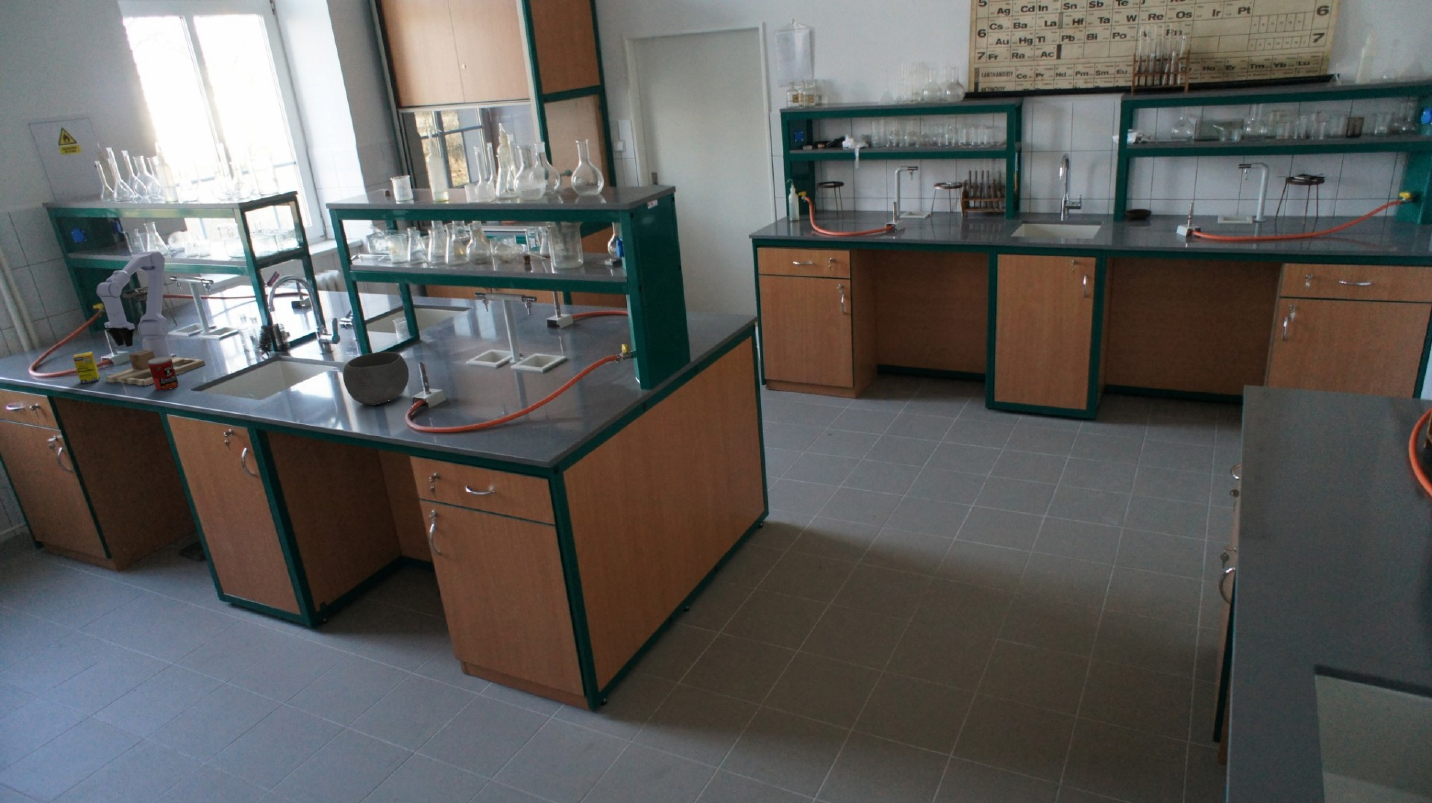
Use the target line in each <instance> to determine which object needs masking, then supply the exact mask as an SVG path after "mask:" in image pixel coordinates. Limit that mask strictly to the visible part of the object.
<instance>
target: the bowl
mask: <svg viewBox="0 0 1432 803" xmlns="http://www.w3.org/2000/svg"><path fill="white" fill-rule="evenodd" d="M409 376H410V372H409V367H408V364H407V362H406V361H405V359H404V357H403V356H402V355H401V354H400V353H398V352H394V351H377V352H370V353H366V354H361V355H359V356H357V357H354V358H352V359H351V360H349V361H347V363H345V365H344V368H343V374H342V379H343V384H344V386H345V389H346V390H347V393H348V394H349V396H350V397H351V398H352V399H353V400H354V401H356V402H358V403H359V404H362V405H366V406H373V405H372V404H378V403H382V404H384V403H383V402H386V401H388V400H391V401H393V400H394V398H395V399H396V398H397V397H399V396H400V395H401V394H402V393H403V392H404V391H405V389H406V388H407V386H408V383H409V378H410V377H409ZM392 399H393V400H392ZM386 403H387V402H386Z"/></svg>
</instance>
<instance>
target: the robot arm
mask: <svg viewBox="0 0 1432 803" xmlns="http://www.w3.org/2000/svg"><path fill="white" fill-rule="evenodd" d="M165 260H166V258H165V257H164V255H163V254H162V252H161V251H158V250H154V251H135V252H134V253H133V254H132V255H131V257H130V260H129V261H128V263H126V265H125V266H124V267H123V269H122V270H119V269H118V270H114V271H113V272H112V275H111V276H109V277H108V278H106V280H105V281H104V282H100V283H99V284H98V285H97V286H96V292H95V293H96V295H97V296H98V297H99V298H100V300H101V302H102V303H103V306H104V308H105V312H106V315H107V318H108V321H107V322H104V324H103V325H104V327H105V328H106V332H107V333H108V334H109V335H110V336H111V338H112V339H113V340H114V341H115V344H116V345H117V346H118V347H120V346H124V345H125V346H126V347H127V348H130V347H132V346H133V345H134V344H133V339H134V338H133V336H134V332H135V329H136V327H135V324H134V323H131V322H129V321H127V316H126V314H125V311H124V307H123V303H122V300H121V295H122V292H123V291H122V290H123V288H124V287H125V286H126V285H127V284H128V283H129V282H131V276H132V275H133V274H135V273H136V272H137V271H138V270H141V271H142V272H143V273H145V274H146V275H147V276H148V281H147V295H146V296H147V297H146V308H145V313H144V315H142V316H141V317H140V321H139V324H138V326H137V331H138V333H139V335H140V336H141V337H143V339H142V341H141V346H142V350H148V351H153V352H154V356H155V358H157V357H164V356H168V357H176V353H171V350H170V347H169V343H168V340H167V335H168V333H169V325H168V318H166V317H164V315H162V310H163V297H164V296H163V295H164V282H165V263H166V262H165ZM108 328H109V329H108Z"/></svg>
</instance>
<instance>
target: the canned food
mask: <svg viewBox="0 0 1432 803" xmlns="http://www.w3.org/2000/svg"><path fill="white" fill-rule="evenodd" d="M148 364H149V368H150V371H151V375H152V378H153V381H154V384H153V385H154V388H155V389H156V390H157V391H160V390H162V391H166V390H165V389H169V390H171V389H170V388H173V389H176V388H177V387H178V386H179V381H178V379H177V375H176V373H175V369H174V366H173V362H172V359H171V357H168V356H164V357H157V358H154V359H151V360H149V361H148Z"/></svg>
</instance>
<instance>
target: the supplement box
mask: <svg viewBox="0 0 1432 803" xmlns="http://www.w3.org/2000/svg"><path fill="white" fill-rule="evenodd" d="M72 359H73V363H74V365H75V369H76V372H77V376H78V379H79V381H80V382H79V383H80V384H81V385H84V384H91V383H97V382H99V381H100V379H101V376H100V373H99V368H98V365H97V362H96V359H95V355H94V352H93V351H86V352H82V353H76V354H74V355H73V357H72Z"/></svg>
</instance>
